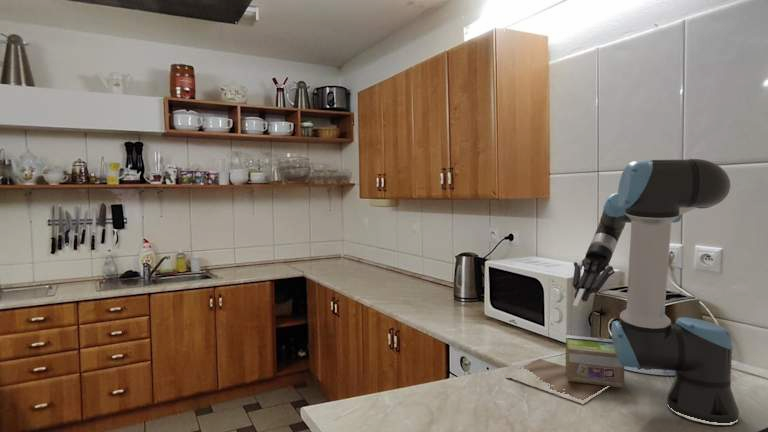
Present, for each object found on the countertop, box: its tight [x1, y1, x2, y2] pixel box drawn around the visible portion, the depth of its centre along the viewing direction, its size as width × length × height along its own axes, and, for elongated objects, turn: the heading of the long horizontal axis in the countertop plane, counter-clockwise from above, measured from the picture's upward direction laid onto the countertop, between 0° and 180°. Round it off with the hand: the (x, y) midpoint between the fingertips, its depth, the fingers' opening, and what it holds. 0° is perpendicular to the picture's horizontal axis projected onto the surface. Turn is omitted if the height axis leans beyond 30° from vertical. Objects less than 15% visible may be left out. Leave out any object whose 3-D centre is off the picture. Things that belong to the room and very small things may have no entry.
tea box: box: [565, 334, 625, 389], centre depth 138 cm, size 15×10×15 cm
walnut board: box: [519, 358, 607, 400], centre depth 138 cm, size 24×19×1 cm
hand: (576, 308), depth 143 cm, fingers closed
